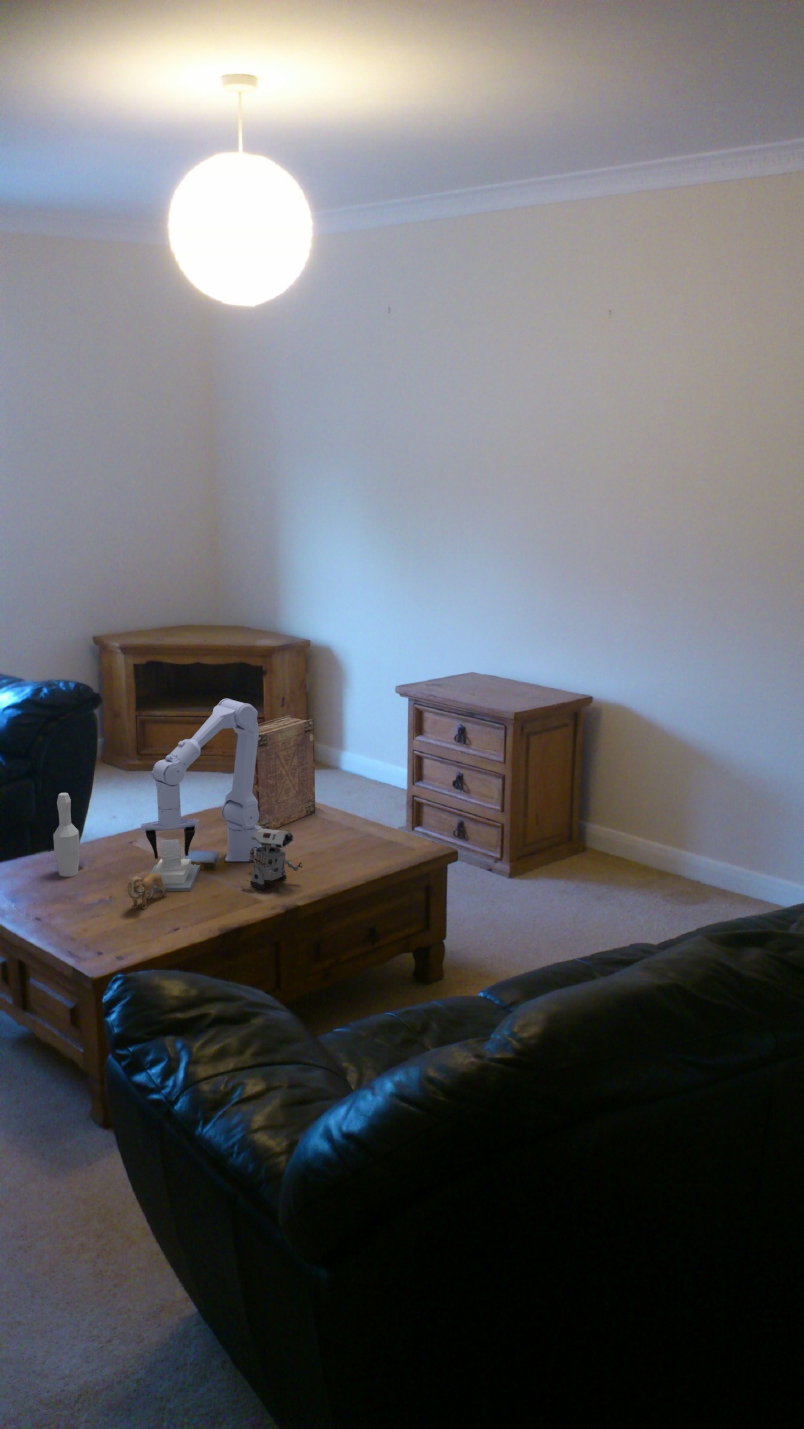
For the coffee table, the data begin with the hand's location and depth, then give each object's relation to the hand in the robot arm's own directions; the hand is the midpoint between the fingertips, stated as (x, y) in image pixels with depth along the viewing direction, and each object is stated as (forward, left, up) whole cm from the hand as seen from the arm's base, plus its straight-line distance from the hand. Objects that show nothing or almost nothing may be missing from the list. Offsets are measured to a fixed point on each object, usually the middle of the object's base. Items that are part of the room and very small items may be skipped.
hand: (171, 856), depth 284 cm
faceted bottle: (+28, -4, -7) cm, 29 cm away
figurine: (-27, +4, -7) cm, 28 cm away
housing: (0, 0, -3) cm, 3 cm away
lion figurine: (+3, +16, -7) cm, 18 cm away
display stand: (0, 0, -6) cm, 6 cm away
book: (-23, -46, -7) cm, 52 cm away
